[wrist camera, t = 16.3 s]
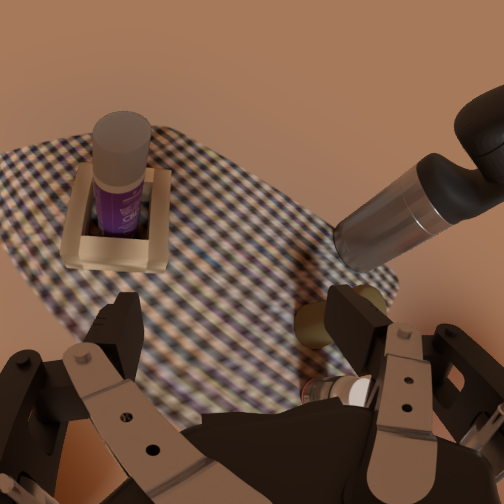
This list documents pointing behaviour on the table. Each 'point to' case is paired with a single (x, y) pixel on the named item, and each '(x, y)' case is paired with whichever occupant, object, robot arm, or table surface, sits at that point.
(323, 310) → the olive pepper mill
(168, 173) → the square holder
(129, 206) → the container
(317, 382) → the pill bottle
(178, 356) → the table surface
